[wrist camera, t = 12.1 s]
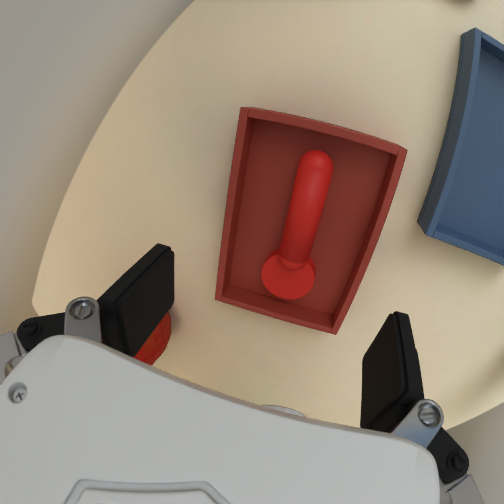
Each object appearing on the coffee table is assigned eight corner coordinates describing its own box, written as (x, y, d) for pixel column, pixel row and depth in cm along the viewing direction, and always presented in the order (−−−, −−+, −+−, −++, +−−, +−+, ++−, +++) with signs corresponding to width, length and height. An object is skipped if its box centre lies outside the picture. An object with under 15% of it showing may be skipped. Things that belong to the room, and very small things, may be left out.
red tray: (224, 283, 28) (214, 299, 26) (250, 107, 19) (240, 107, 17) (337, 316, 26) (336, 335, 24) (399, 145, 18) (407, 150, 16)
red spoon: (350, 156, 19) (352, 162, 17) (307, 297, 25) (304, 314, 23) (290, 141, 19) (284, 144, 17) (260, 283, 26) (253, 299, 24)
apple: (157, 270, 29) (94, 336, 20) (196, 329, 32) (152, 401, 23) (114, 287, 33) (59, 341, 24) (150, 337, 36) (107, 396, 26)
